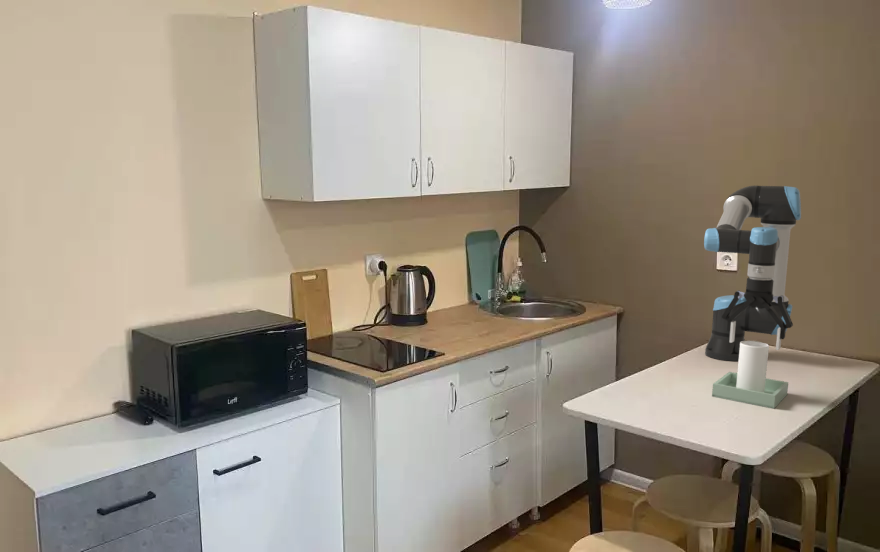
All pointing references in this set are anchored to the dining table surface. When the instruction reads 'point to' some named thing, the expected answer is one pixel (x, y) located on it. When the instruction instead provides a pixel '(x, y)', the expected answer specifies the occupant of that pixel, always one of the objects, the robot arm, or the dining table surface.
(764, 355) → the cup
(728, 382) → the bin
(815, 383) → the dining table surface
